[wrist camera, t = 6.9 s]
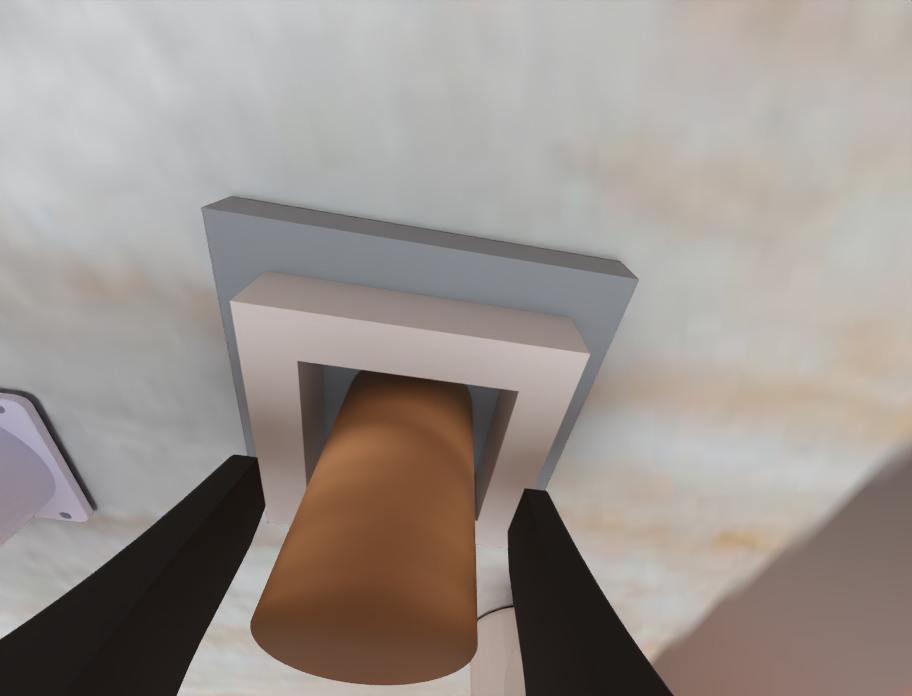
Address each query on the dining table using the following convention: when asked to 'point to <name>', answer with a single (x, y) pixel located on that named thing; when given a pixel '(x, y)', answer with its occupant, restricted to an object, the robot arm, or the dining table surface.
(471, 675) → the mug
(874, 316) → the dining table surface
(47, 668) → the robot arm
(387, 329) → the socket board
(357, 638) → the peg
